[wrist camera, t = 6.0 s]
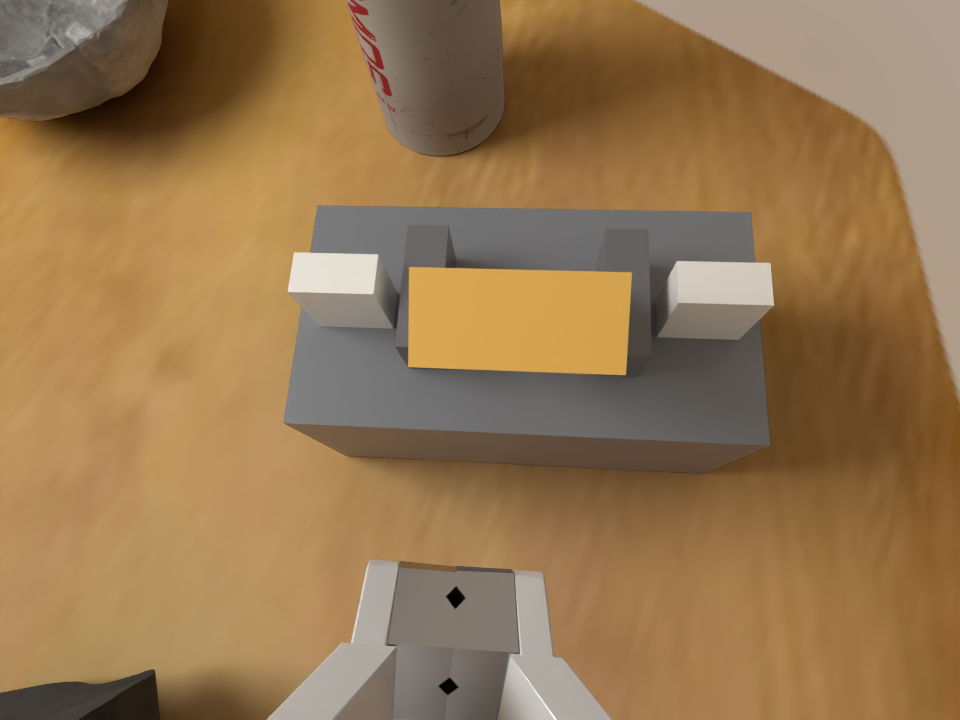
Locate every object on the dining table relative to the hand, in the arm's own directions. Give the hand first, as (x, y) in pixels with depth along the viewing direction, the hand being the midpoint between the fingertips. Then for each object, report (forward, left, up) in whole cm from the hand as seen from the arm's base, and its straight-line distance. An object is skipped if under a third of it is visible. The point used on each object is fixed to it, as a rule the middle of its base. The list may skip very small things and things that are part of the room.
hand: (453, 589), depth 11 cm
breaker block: (+9, -3, -21) cm, 23 cm away
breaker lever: (+9, -3, -11) cm, 15 cm away
